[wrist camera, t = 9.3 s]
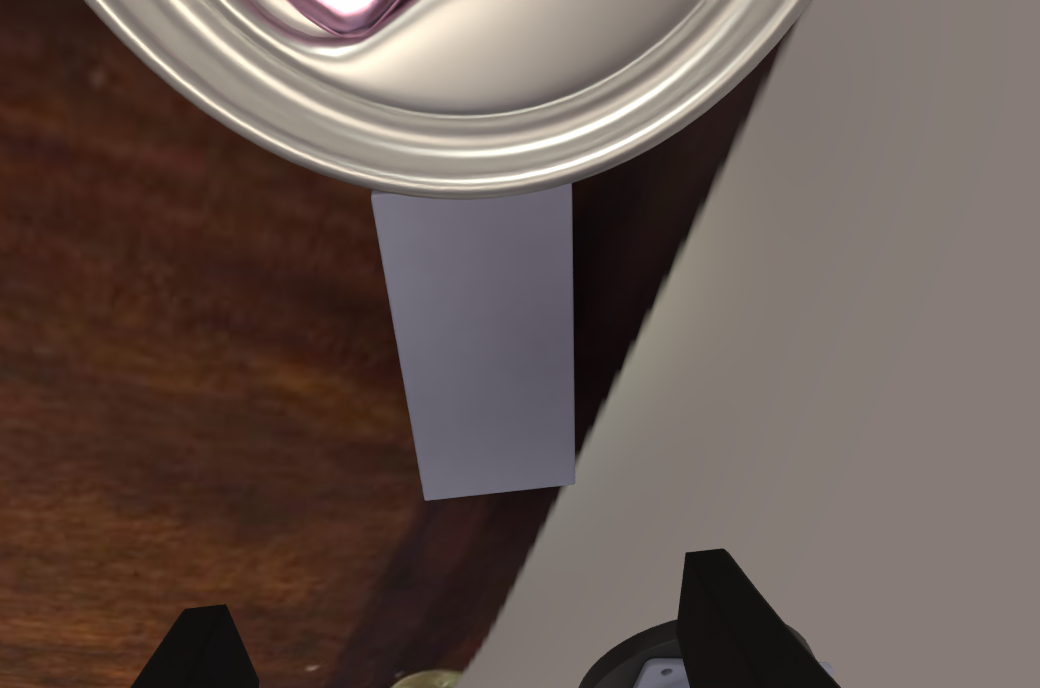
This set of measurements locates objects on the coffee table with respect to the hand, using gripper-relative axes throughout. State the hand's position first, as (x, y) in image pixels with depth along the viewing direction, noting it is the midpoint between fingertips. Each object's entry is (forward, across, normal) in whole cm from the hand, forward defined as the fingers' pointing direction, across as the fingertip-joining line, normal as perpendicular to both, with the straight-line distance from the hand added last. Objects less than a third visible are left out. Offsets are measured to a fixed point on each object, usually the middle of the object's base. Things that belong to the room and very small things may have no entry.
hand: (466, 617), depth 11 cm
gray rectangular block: (+9, -1, -1) cm, 9 cm away
